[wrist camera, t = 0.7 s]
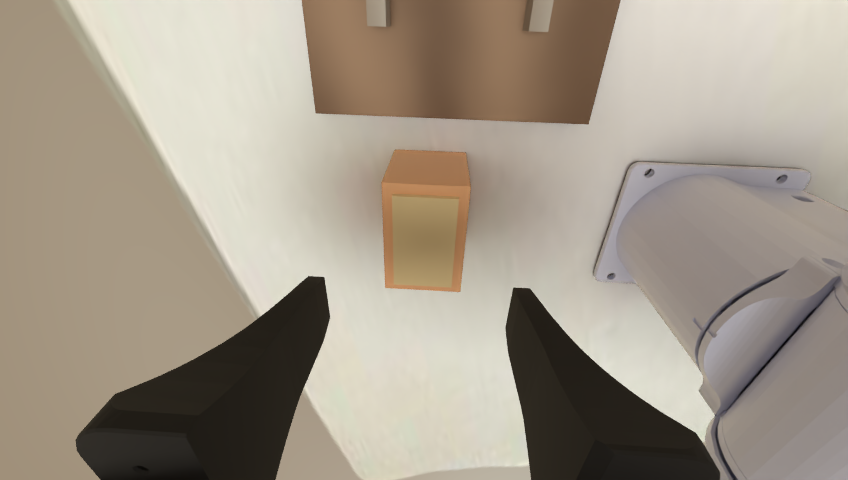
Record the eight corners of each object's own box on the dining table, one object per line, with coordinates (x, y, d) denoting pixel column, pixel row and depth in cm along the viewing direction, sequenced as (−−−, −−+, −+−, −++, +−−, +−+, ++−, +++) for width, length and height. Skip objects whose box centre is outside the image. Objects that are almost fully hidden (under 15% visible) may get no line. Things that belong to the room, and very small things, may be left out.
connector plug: (465, 152, 20) (471, 189, 16) (457, 242, 23) (460, 295, 19) (395, 149, 20) (380, 185, 16) (396, 239, 24) (384, 291, 19)
